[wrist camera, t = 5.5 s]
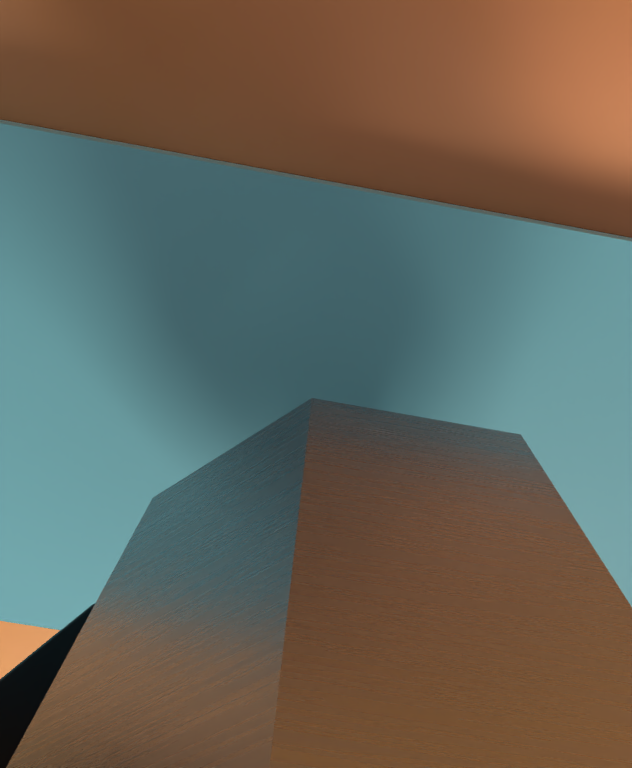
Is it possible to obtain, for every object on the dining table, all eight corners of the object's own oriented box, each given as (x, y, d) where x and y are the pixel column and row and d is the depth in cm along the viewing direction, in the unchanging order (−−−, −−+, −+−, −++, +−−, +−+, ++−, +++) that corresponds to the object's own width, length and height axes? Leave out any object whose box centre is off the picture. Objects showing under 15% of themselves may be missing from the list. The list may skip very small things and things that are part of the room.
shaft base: (647, 685, 16) (780, 916, 11) (-42, 576, 15) (-215, 771, 10) (888, 285, 11) (1301, 387, 6) (-97, 101, 10) (-463, 59, 6)
